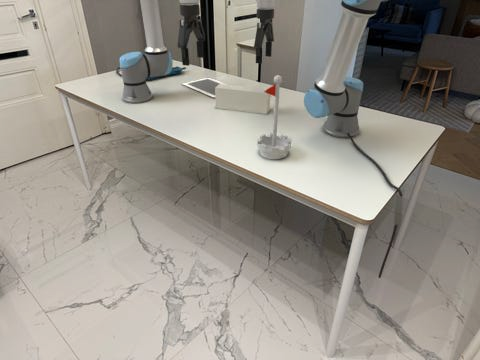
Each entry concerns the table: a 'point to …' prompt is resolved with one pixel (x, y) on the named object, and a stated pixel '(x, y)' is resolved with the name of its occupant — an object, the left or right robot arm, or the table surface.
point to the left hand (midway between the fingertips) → (193, 61)
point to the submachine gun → (173, 71)
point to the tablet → (204, 86)
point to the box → (242, 98)
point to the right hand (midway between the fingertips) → (263, 59)
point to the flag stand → (274, 131)
